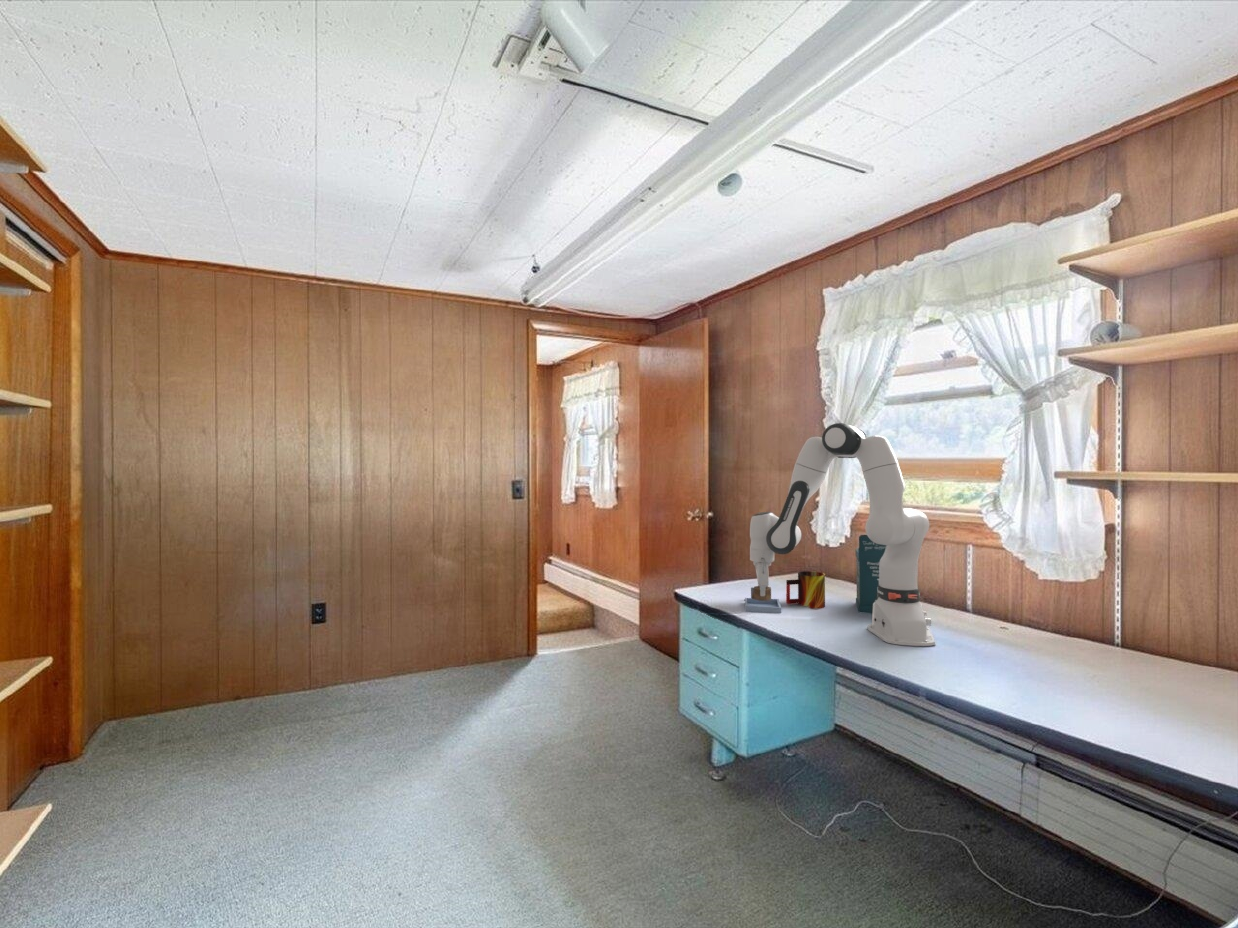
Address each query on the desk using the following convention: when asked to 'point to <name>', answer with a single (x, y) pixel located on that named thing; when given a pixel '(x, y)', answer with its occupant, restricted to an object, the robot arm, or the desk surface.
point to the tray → (762, 605)
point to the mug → (808, 589)
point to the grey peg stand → (751, 592)
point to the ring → (761, 598)
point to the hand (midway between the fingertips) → (762, 593)
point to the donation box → (867, 573)
